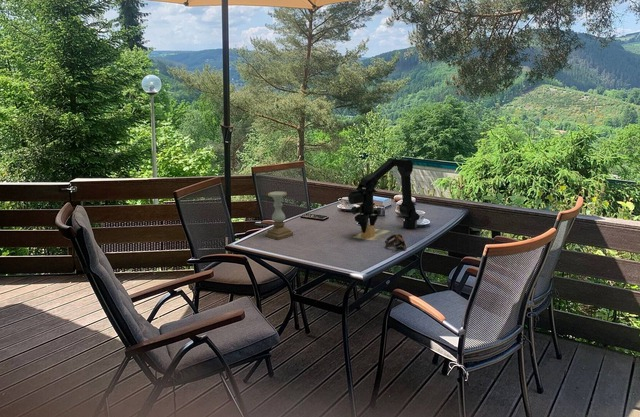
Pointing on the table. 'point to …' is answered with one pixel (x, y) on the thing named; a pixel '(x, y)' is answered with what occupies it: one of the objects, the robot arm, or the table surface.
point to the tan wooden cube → (368, 232)
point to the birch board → (378, 235)
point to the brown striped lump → (395, 241)
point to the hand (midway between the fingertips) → (367, 230)
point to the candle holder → (278, 218)
